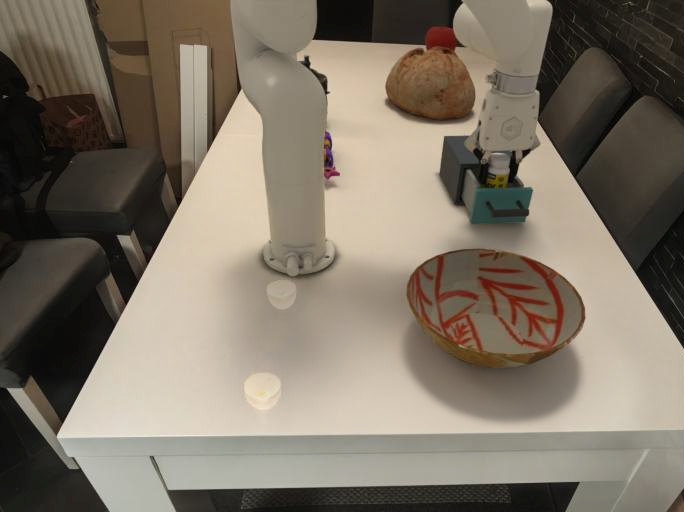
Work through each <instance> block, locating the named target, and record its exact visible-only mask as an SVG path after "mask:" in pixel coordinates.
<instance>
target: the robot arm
mask: <svg viewBox="0 0 684 512" xmlns="http://www.w3.org/2000/svg"><path fill="white" fill-rule="evenodd" d="M229 2H230V3H229V4H230V17H231V18H230V19H231V24H232V33H233V42H234V50H235V59H236V65H237V66H236V67H237V74H238V78H239V84H240V87H241V90H242V93H243V94H244V97H245V98H246V99H247V101H248V102H249V104H251V106H252V107H253V108H254V109H255V110H256V112H257V114H258V115H259V116H260V119H261V123H262V138H261V139H262V140H261V156H262V158H261V159H262V169H263V177H264V185H265V186H264V187H265V196H266V205H267V206H266V207H267V217H268V226H269V235H270V240H268V241H267V242H266V244H265V245H264V247H263V249H262V251H263V252H262V253H263V255H262V256H263V260H264V261H265V263H266V264H267V265H268V267H270V268H271V269H273V270H275V271H277V272H280V273H284V274H287V275H288V276H289V277H296V276H298V275H308V274H313V273H316V272H320V271H322V270H323V269H325V268H326V267H328V266H330V265H331V263H332V262H333V261H334V259H335V256H336V249H335V246H334V244H333V242H332V241H331V240H330V239H329V238H327V235H326V194H325V176H324V136H325V131H326V128H327V121H328V120H327V119H328V114H327V112H328V106H327V101H328V98H327V99H326V95H325V92H324V89H323V87H322V85H321V84H320V82H319V80H318V79H317V78H316V76H315V75H314V74H313V73H312V72H311V71H310V70H309V69H308V68H306V67H305V66H304V65H303V64H301V63H300V62H299V61H300V60H298V53H300V52H302V51H304V50H306V48H307V47H308V46H309V45H310V44H311V43H312V41H313V39H314V37H315V34H316V30H317V23H318V7H317V6H318V4H317V0H230V1H229ZM461 2H462V3H461V5H460V6H459V7H458V8H457V10H456V12H455V14H454V17H453V20H452V26H453V27H452V29H453V30H454V33H455V36H456V38H457V39H458V41H457V42H459V43H460V44H461V45H462V46H464V47H465V48H466V49H469V50H470V51H473V52H474V53H475V52H476V53H477V54H480V55H482V56H485V57H487V59H490V60H492V61H495V66H494V68H493V69H492V70H493V71H492V73H489V74H485V84H489V85H491V86H488V87H487V90H486V93H485V95H484V98H483V101H482V104H481V108H480V110H479V115H478V119H477V124H476V128H475V129H474V130H473V131H472V133H471V134H470V135H468V136H469V137H468V138H467V139H466V141H465V142H464V145H465V146H466V148H468V149H469V150H470V151H471V152H472V153H473V154H474V155H475V156H476V157H477V158H478V160H479V162H478V168H477V174H476V175H477V178H478V179H479V180H480V182H481V183H482V184H485V183H486V180H487V175H488V169H489V164H488V163H487V162H488V159H489V157H490V154H491V152H492V151H511V154H512V156H511V157H510V164H509V166H508V167H509V168H510V173H509V177H508V182H509V183H513V180H514V177H516V174H517V175H518V173H517V170H518V171H519V168H518V165H519V166H520V164H521V163H522V162H523V160H524V159H525V158H526V157H527V156H528V155H529V154H531V152H533V151H535V150H536V149H537V148H539V147H541V141H540V139H539V137H538V135H537V134H536V132H537V126H538V120H539V119H538V118H539V110H540V91H539V90H537V84H538V82H539V81H538V80H539V77H540V71H541V67H542V62H543V59H544V54H545V49H546V45H547V40H548V35H549V32H550V26H551V22H552V17H553V10H554V9H553V5H552V3H551V2H550V1H548V0H461ZM477 141H478V142H479V144H480V146H481V147H480V150H479V148H478V147H477V146H476V145H475V143H476V142H477ZM519 163H520V164H519Z"/></svg>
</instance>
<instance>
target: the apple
mask: <svg viewBox="0 0 684 512" xmlns="http://www.w3.org/2000/svg"><path fill="white" fill-rule="evenodd" d="M424 41H425V49H426V51H427V50H429V49H431V48H433V47H436V46H440V47H443V48H448V49H451V50H453V51H455V52H456V48H457V44H458V42H459V41H458V39H457V38H456V36H455V33H454V29H453V28H451V27H446V26H433V27H430V29H428V30H427V32H426V34H425V37H424Z"/></svg>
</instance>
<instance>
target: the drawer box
mask: <svg viewBox="0 0 684 512" xmlns="http://www.w3.org/2000/svg"><path fill="white" fill-rule="evenodd" d="M469 136H470V135H444V136H443V142H442V150H441V158H440V165H439V176H440V178H441V180H442V182H443V184H444V187H445V188H446V190H447V192H448V194H449V196H450V198H451V200H452V203H454V205H466V204H465V203H464V201H463V199H462V197H461V195H460V193H461V186H462V180H463V174H464V168H478V162H479V160H478V158H477V157H476V156H475V155H474V154H473V153H472V152H471V151H470V150H469V149H468V148H466V146H465V145H464V142H465V141H466V139H467V138H468V137H469ZM475 145H476V146H477V147H478V148H479V150H480V147H481V146H480V144H479V142H478V141H477V142H476V143H475ZM493 153H503V154H506V155H508V156H509V157H511V156H512V154H511V151H492V152H491V154H493ZM491 154H490V155H491ZM488 160H489V159H488ZM487 163H488V162H487ZM520 164H521V163H519V165H518V170H517V174H516V175H517V176H518V172H519V168H520Z"/></svg>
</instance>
